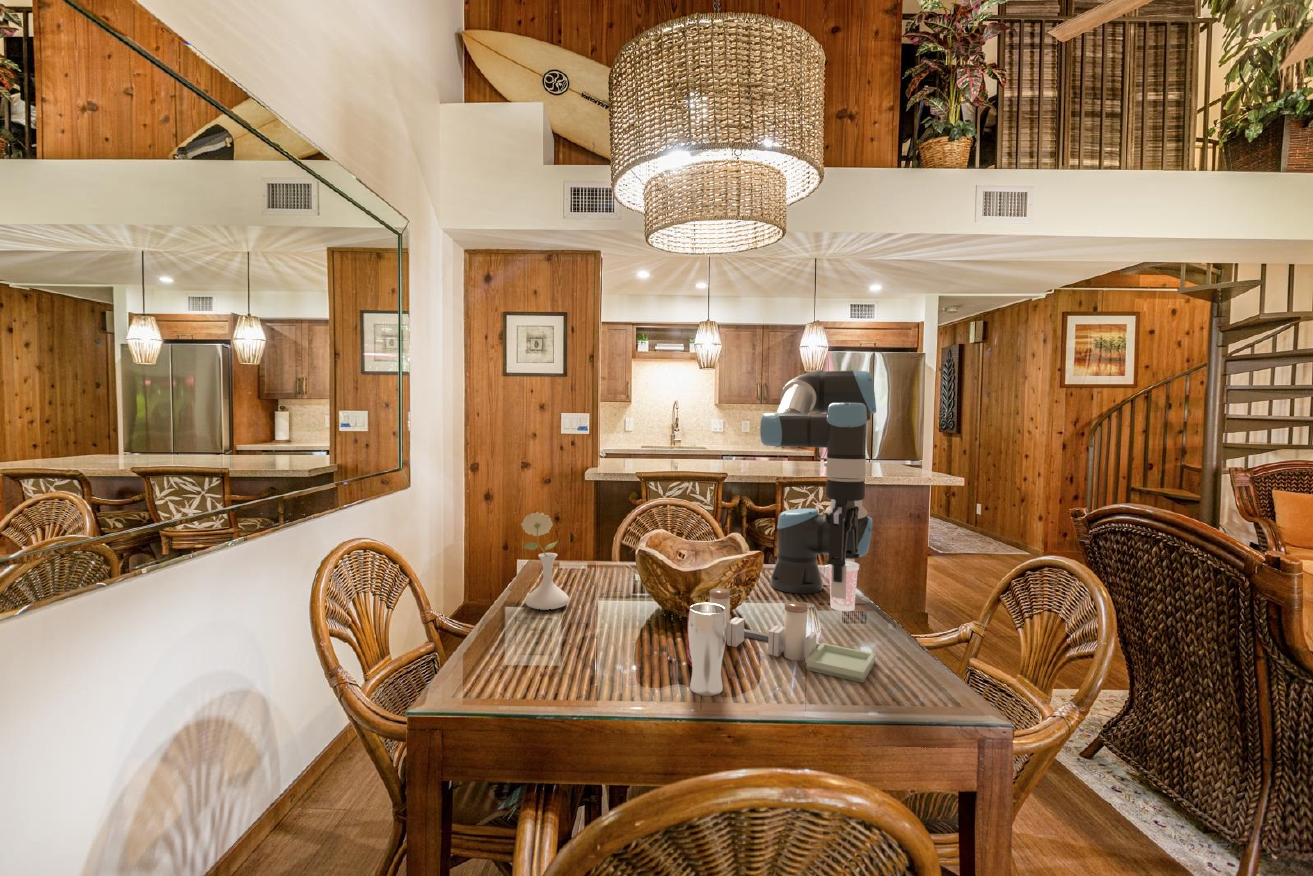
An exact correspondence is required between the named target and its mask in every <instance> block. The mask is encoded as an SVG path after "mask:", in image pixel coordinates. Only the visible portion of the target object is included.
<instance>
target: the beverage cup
mask: <svg viewBox="0 0 1313 876" xmlns="http://www.w3.org/2000/svg"><path fill="white" fill-rule="evenodd" d="M845 565H847V573H846V599H841V598H834V597H831V578H832V565H831V564H827V567H828V571H829V572H828V573H829V574H828V575H829V596H830V599H829V600H830V607H831V609H833V610H835V611H840V612H851V611H854V610H855V606H856V596H857V595H856V592H857V584H858V583H857V582H858V571H859V570H860V564H859V563H858V562H856V561H855V562H852V561H845Z"/></svg>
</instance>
